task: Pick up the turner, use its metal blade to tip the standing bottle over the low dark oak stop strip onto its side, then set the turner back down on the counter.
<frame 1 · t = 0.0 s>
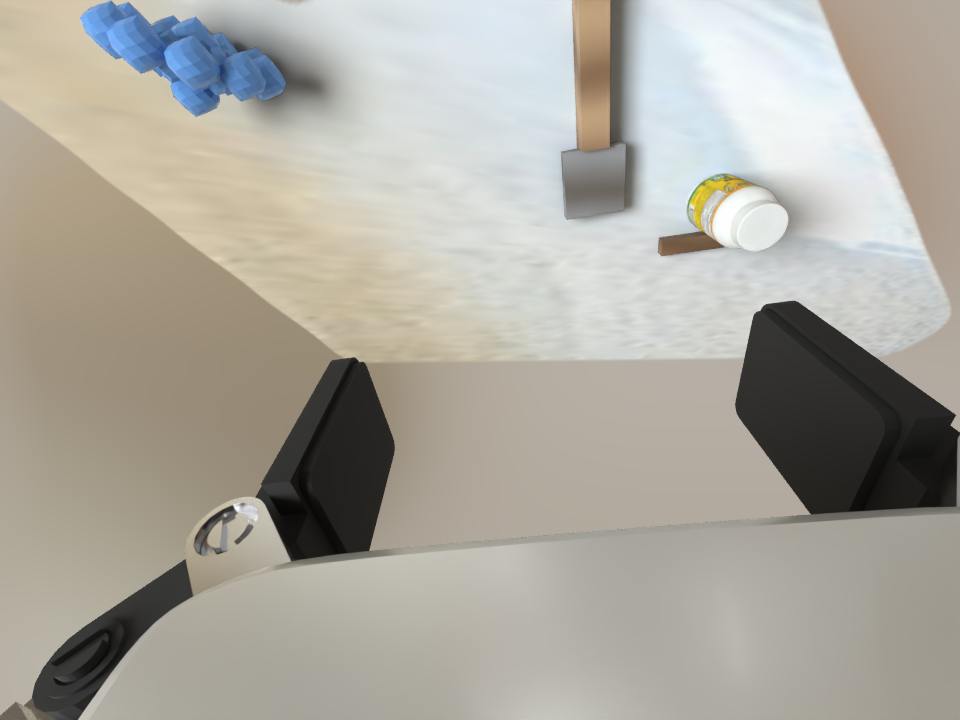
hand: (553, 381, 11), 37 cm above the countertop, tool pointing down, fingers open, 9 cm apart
stop strip: (707, 238, 45), on the countertop
turner: (589, 121, 40), on the countertop
grapes: (234, 70, 38), on the countertop
supplement bottle: (710, 200, 43), on the countertop
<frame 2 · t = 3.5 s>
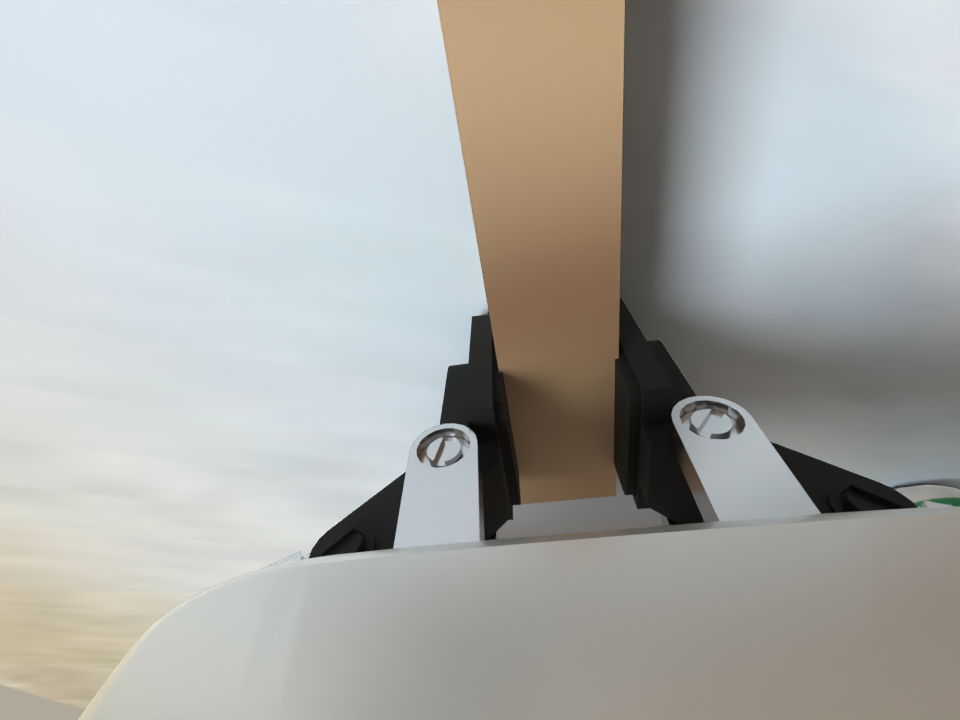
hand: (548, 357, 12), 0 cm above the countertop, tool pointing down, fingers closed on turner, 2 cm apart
turner: (548, 369, 12), on the countertop, touching gripper
supplement bottle: (885, 523, 16), on the countertop
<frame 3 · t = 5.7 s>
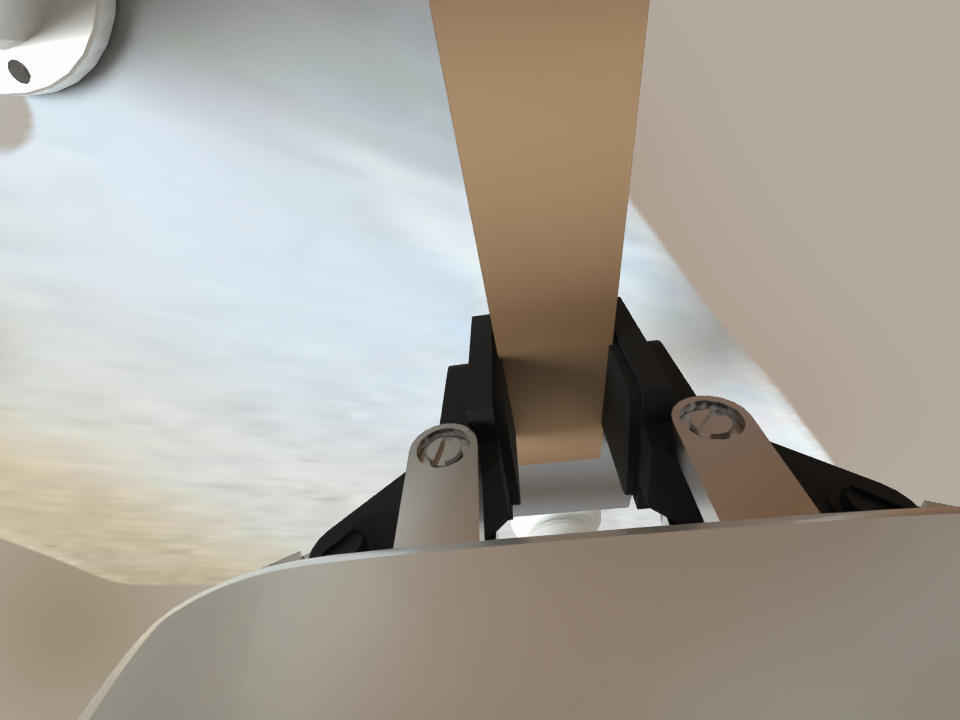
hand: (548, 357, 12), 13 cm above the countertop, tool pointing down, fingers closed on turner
turner: (543, 343, 13), point 11 cm above the countertop, tilted 16°, touching gripper
supplement bottle: (542, 436, 31), on the countertop
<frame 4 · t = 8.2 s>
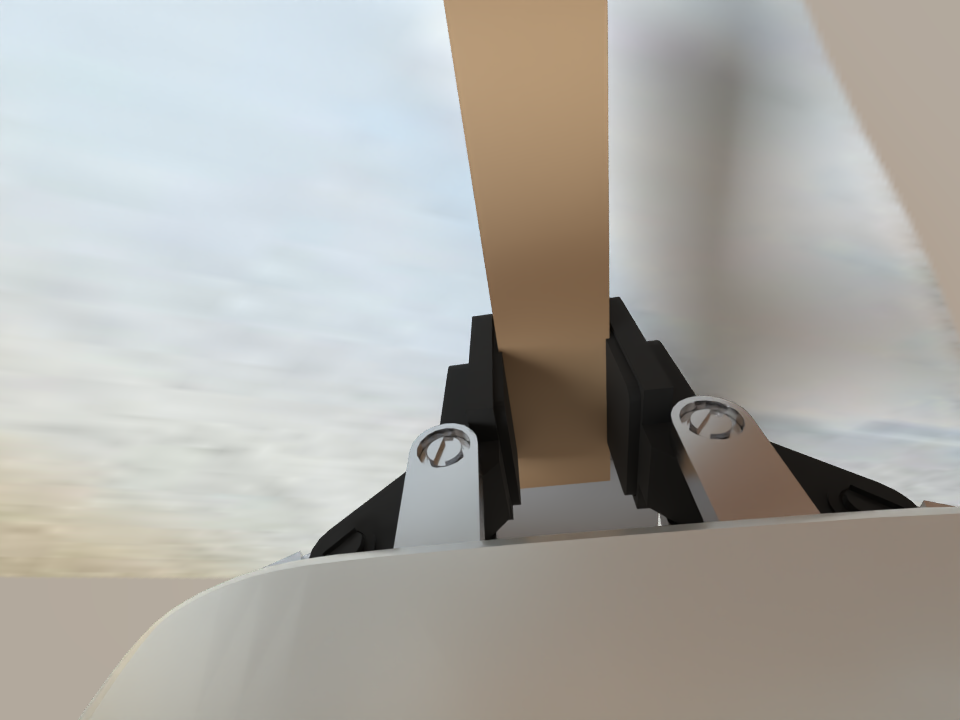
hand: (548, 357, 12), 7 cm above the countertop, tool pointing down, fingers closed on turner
turner: (546, 363, 13), point 6 cm above the countertop, touching gripper
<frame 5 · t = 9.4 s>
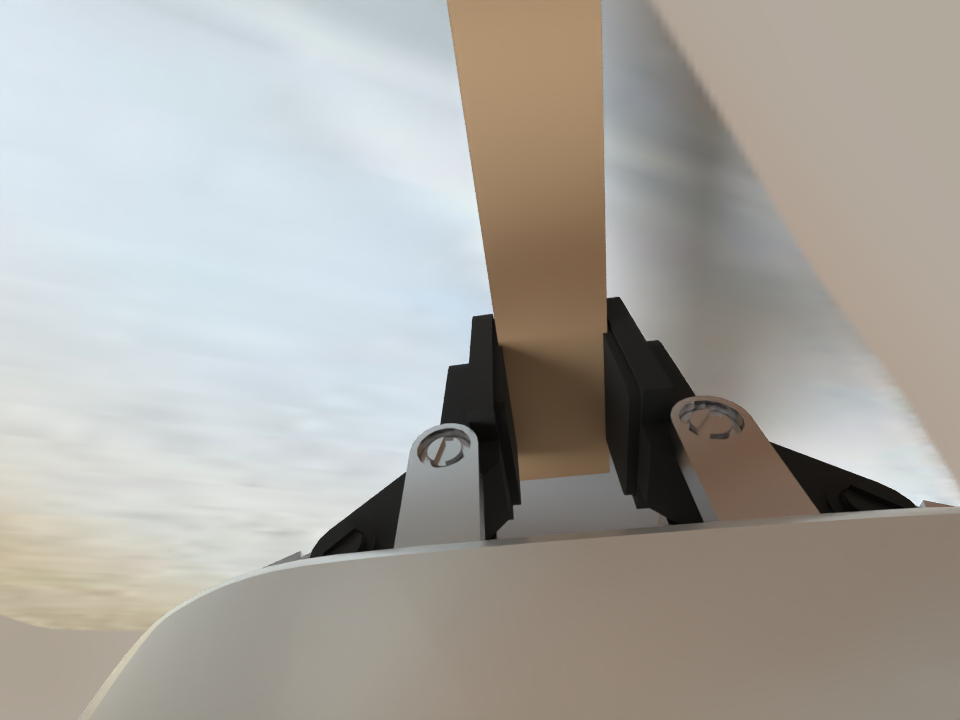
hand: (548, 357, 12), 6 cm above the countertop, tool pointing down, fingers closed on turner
turner: (546, 358, 13), point 5 cm above the countertop, touching gripper
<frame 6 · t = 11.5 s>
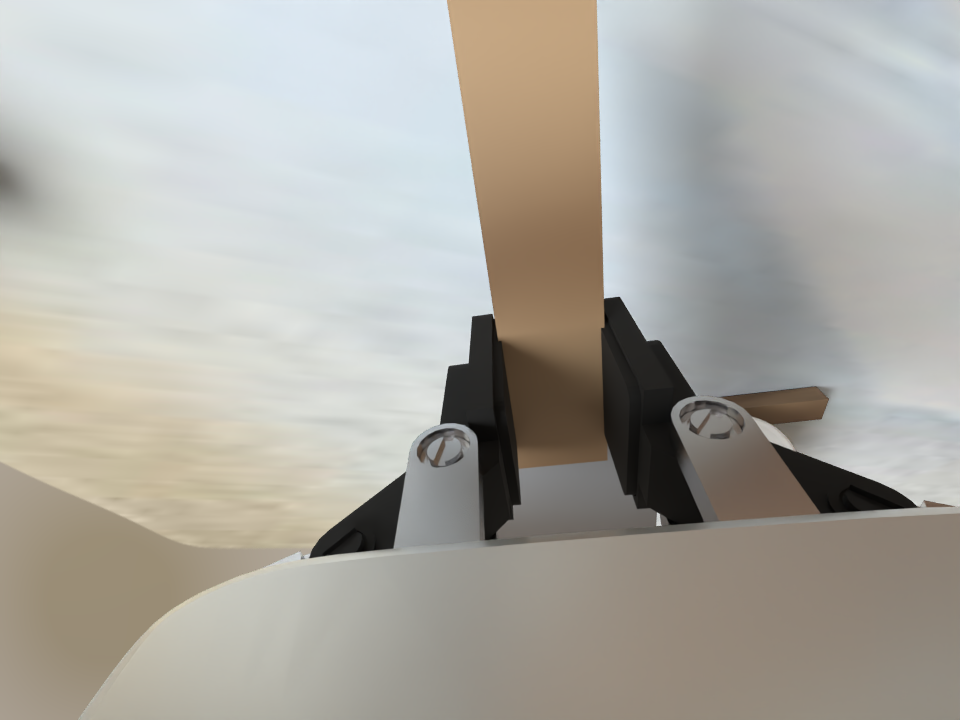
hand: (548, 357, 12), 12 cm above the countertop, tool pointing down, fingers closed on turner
stop strip: (729, 405, 27), on the countertop
turner: (544, 348, 13), point 10 cm above the countertop, tilted 6°, touching gripper
supplement bottle: (746, 448, 23), point 4 cm above the countertop, touching stop strip
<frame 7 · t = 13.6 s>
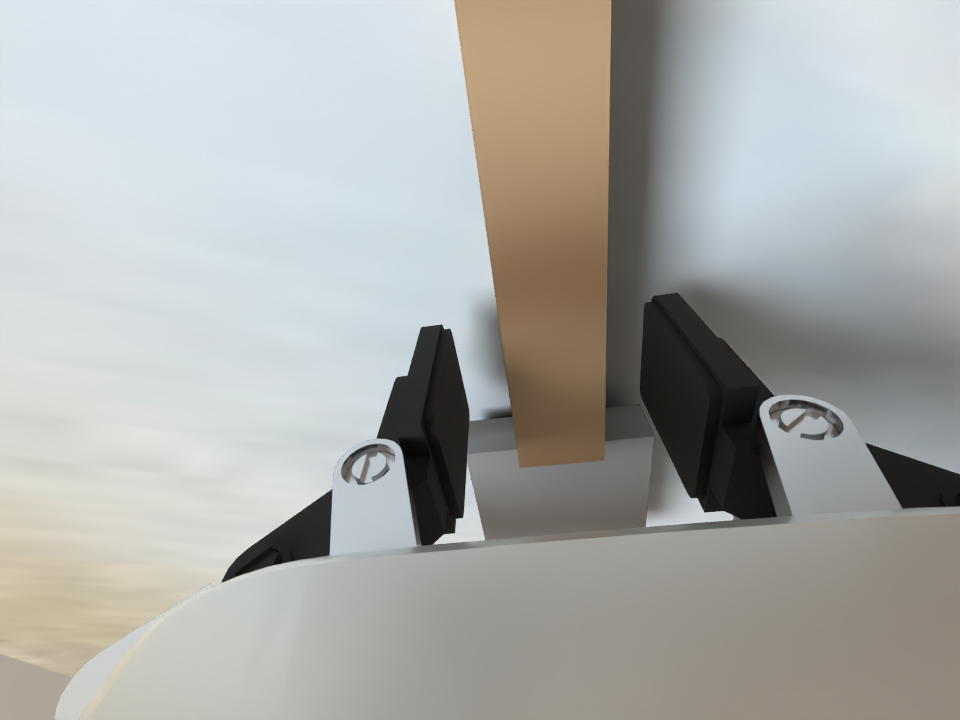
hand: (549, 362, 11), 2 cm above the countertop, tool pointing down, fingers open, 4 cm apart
turner: (545, 349, 14), on the countertop
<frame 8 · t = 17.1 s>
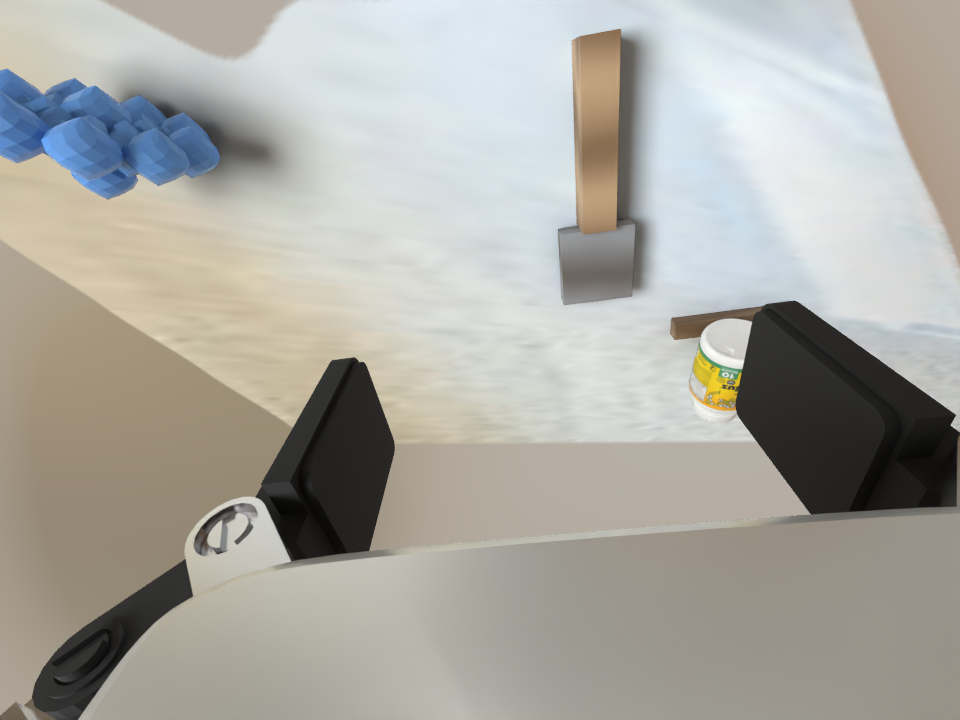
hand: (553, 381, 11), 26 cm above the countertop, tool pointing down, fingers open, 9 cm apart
stop strip: (727, 318, 39), on the countertop
turner: (591, 195, 33), on the countertop
grapes: (163, 135, 32), on the countertop
supplement bottle: (739, 336, 35), point 4 cm above the countertop, touching stop strip
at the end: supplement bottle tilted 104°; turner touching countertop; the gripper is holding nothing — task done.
